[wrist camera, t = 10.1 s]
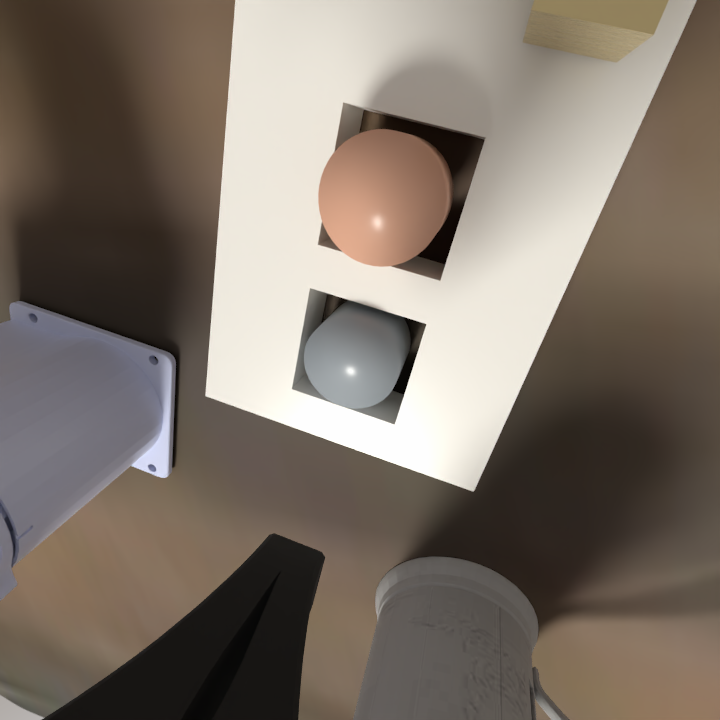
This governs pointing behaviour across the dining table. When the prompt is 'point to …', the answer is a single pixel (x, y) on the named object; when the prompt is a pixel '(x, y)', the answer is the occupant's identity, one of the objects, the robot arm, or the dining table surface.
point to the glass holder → (451, 647)
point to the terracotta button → (384, 196)
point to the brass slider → (593, 26)
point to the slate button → (357, 355)
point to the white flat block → (475, 228)
